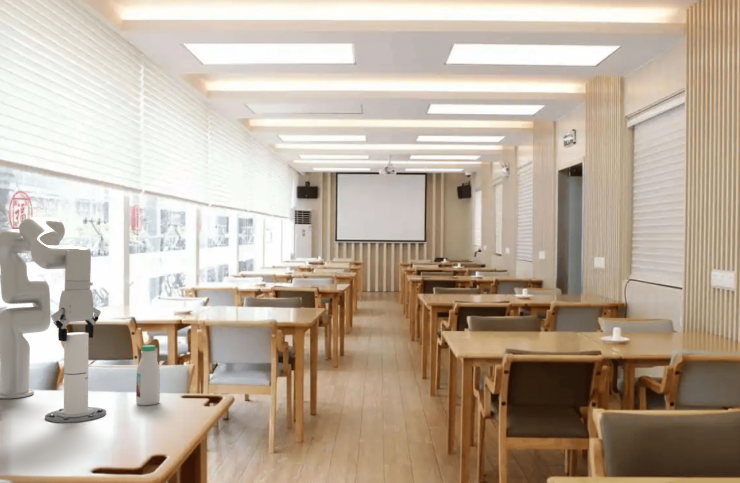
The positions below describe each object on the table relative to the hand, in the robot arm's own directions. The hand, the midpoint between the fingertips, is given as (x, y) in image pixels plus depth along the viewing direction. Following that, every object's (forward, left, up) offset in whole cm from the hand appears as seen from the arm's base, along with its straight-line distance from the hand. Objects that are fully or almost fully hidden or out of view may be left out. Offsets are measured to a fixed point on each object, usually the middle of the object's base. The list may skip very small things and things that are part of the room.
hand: (76, 339), depth 218 cm
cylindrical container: (0, 0, -24) cm, 23 cm away
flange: (+1, 0, -25) cm, 25 cm away
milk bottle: (+7, +24, -25) cm, 35 cm away
